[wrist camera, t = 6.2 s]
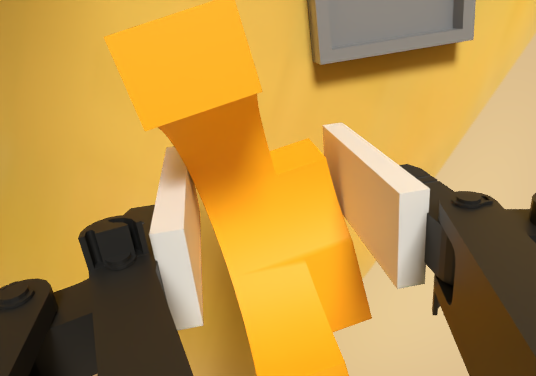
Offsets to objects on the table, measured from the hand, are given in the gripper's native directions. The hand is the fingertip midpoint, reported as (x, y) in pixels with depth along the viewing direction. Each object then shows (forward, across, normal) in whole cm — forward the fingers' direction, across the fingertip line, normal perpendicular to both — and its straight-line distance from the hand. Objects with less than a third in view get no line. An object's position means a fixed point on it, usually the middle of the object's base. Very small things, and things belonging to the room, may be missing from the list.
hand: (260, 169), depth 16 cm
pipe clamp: (+1, 0, 0) cm, 1 cm away
